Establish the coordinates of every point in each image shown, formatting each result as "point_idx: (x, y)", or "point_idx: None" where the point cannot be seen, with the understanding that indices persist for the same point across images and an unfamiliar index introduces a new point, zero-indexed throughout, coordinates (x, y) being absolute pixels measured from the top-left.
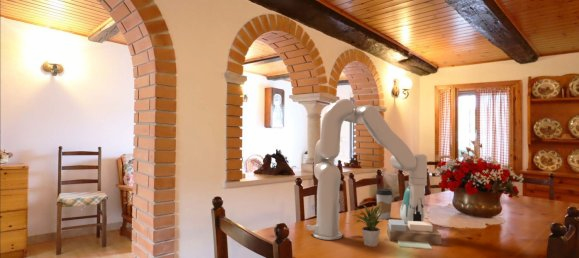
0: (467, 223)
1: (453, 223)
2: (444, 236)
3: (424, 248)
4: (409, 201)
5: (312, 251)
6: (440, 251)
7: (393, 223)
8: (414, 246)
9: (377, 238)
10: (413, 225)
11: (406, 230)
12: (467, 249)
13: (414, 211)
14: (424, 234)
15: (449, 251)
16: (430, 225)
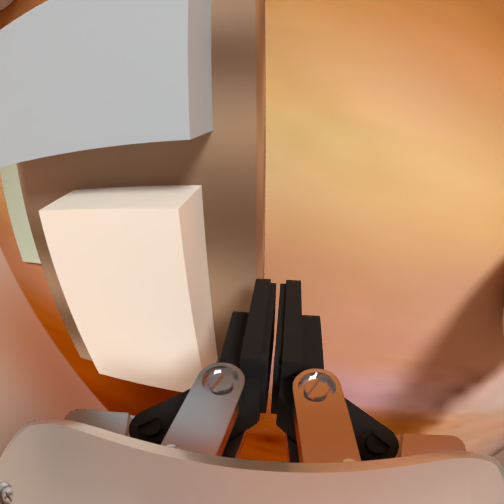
0: None
1: (474, 422)
2: (270, 381)
3: (15, 228)
4: (500, 488)
5: None
6: (24, 284)
7: (14, 44)
8: (6, 185)
9: None
10: (53, 239)
11: (55, 159)
12: (102, 381)
13: (234, 396)
14: (50, 276)
15: (43, 316)
16: (94, 363)
